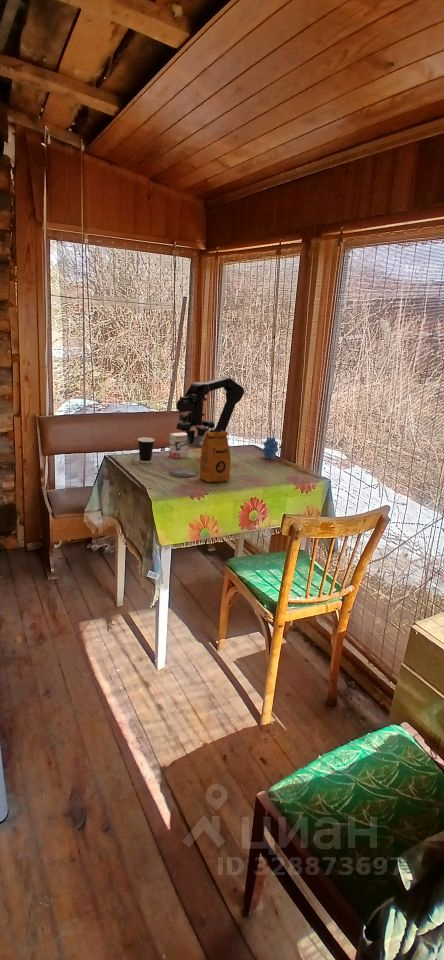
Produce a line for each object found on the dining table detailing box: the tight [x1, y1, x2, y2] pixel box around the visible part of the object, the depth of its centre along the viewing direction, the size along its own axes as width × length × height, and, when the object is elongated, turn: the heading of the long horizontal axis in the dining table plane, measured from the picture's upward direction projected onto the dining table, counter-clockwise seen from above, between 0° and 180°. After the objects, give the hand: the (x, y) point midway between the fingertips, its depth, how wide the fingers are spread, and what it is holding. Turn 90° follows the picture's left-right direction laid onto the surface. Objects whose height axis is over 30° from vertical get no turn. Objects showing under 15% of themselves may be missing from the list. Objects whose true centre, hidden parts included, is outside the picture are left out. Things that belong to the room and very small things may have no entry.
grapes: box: [262, 436, 279, 460], centre depth 284 cm, size 12×7×12 cm, turn 32°
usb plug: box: [187, 433, 205, 449], centre depth 259 cm, size 4×12×5 cm, turn 42°
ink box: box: [168, 431, 190, 459], centre depth 277 cm, size 8×5×12 cm, turn 123°
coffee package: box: [199, 431, 232, 483], centre depth 242 cm, size 10×12×22 cm
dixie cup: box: [137, 437, 155, 464], centre depth 264 cm, size 8×8×11 cm
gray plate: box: [168, 467, 197, 479], centre depth 251 cm, size 12×12×1 cm
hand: (194, 443), depth 261 cm, fingers closed on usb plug, 4 cm apart
